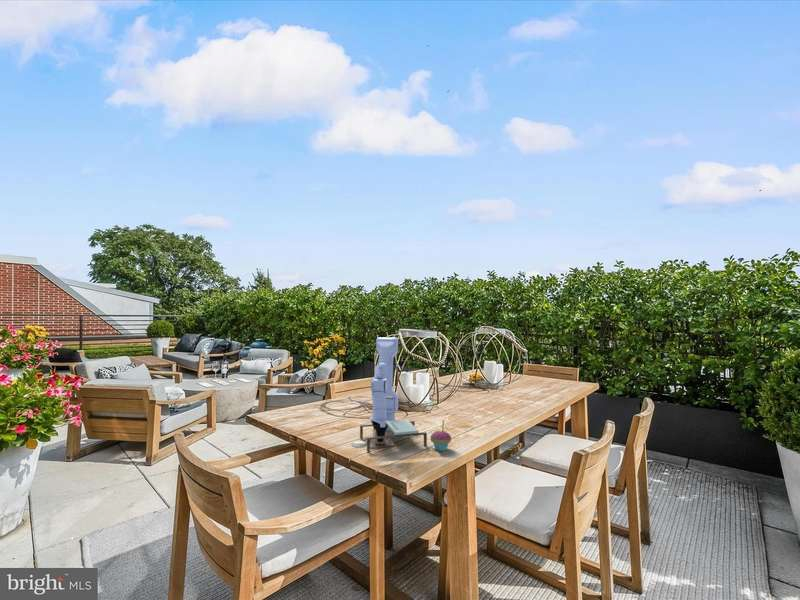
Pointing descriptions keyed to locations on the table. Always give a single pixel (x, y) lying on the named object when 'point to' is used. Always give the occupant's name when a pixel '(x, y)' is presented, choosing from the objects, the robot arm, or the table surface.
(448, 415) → the table surface
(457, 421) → the table surface
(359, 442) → the puzzle board
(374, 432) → the block
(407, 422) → the slide cover
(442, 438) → the cupcake
